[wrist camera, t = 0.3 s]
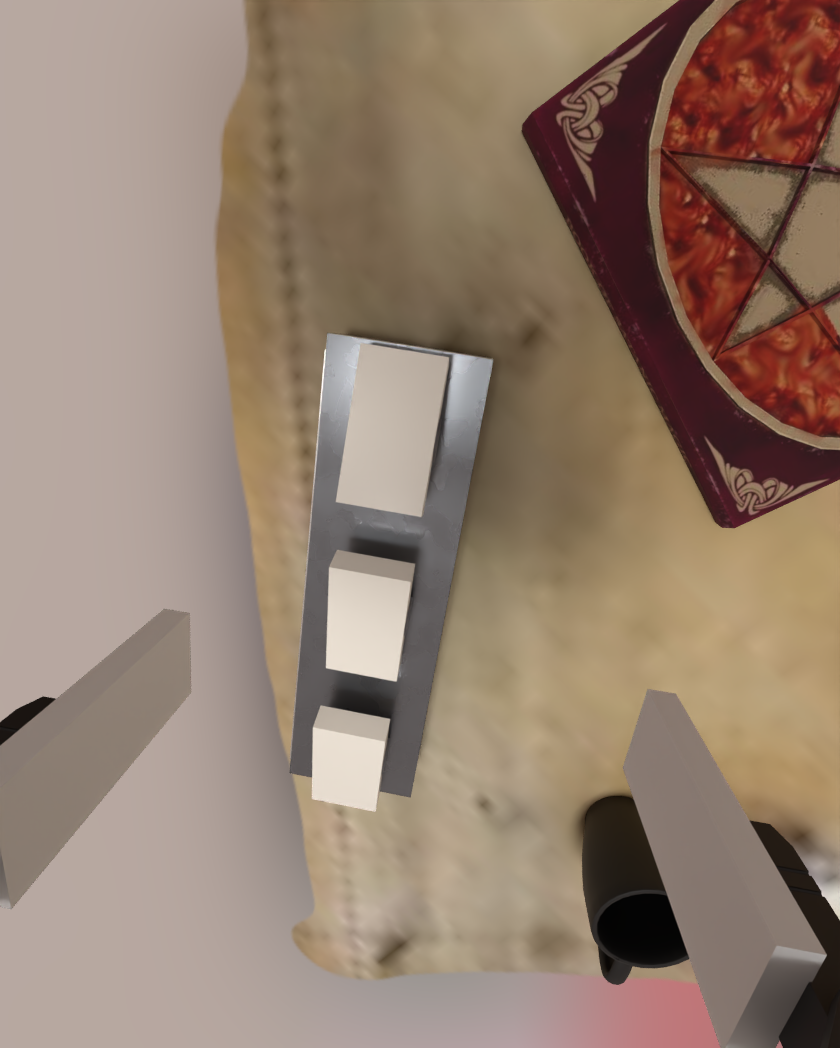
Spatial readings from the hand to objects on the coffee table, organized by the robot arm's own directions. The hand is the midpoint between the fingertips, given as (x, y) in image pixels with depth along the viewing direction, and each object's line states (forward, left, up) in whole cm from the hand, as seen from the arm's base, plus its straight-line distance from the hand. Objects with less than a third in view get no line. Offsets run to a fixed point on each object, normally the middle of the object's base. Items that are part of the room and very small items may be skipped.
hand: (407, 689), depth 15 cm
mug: (+30, +20, -25) cm, 44 cm away
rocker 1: (-3, -4, -20) cm, 21 cm away
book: (-18, +18, -26) cm, 36 cm away
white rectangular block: (+8, -4, -20) cm, 22 cm away
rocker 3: (+20, -4, -20) cm, 28 cm away
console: (+8, -4, -25) cm, 27 cm away
